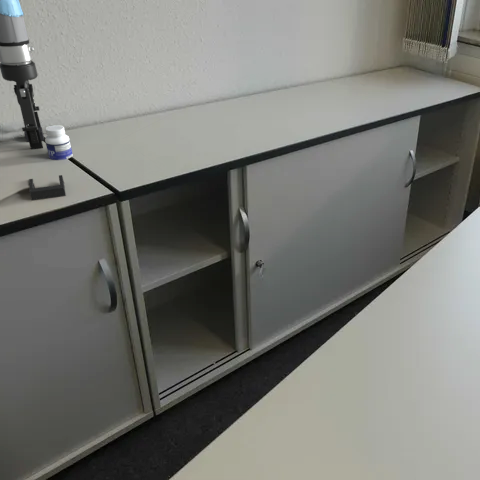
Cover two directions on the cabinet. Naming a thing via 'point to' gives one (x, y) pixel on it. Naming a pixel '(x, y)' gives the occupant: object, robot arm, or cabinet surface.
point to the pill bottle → (57, 143)
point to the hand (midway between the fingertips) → (38, 144)
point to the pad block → (39, 132)
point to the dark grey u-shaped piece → (47, 190)
